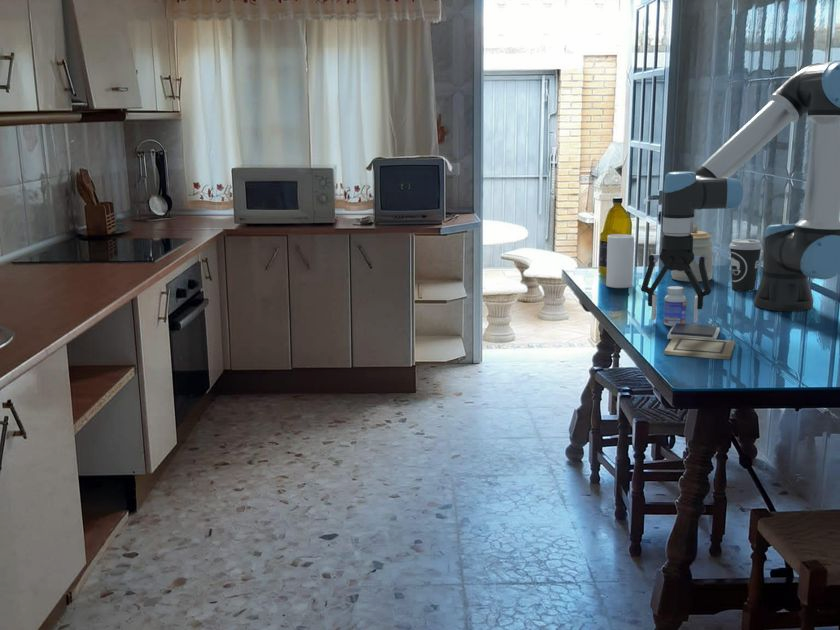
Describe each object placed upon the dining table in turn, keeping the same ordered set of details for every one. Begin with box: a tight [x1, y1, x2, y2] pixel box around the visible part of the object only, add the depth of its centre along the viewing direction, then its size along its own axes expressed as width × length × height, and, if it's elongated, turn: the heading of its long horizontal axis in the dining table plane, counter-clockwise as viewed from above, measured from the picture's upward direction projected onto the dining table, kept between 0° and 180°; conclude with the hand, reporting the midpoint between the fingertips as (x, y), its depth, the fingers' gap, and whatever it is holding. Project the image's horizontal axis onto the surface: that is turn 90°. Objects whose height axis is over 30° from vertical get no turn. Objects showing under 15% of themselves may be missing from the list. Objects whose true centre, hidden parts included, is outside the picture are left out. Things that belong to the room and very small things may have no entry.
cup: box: [605, 233, 635, 289], centre depth 273 cm, size 8×8×16 cm
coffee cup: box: [728, 238, 763, 292], centre depth 262 cm, size 10×10×15 cm
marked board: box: [663, 337, 736, 360], centre depth 198 cm, size 14×14×1 cm
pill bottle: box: [663, 285, 687, 327], centre depth 221 cm, size 5×5×10 cm
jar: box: [671, 224, 715, 283], centre depth 281 cm, size 13×13×18 cm
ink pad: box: [666, 323, 721, 340], centre depth 210 cm, size 11×11×2 cm
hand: (674, 320), depth 221 cm, fingers open, 10 cm apart
